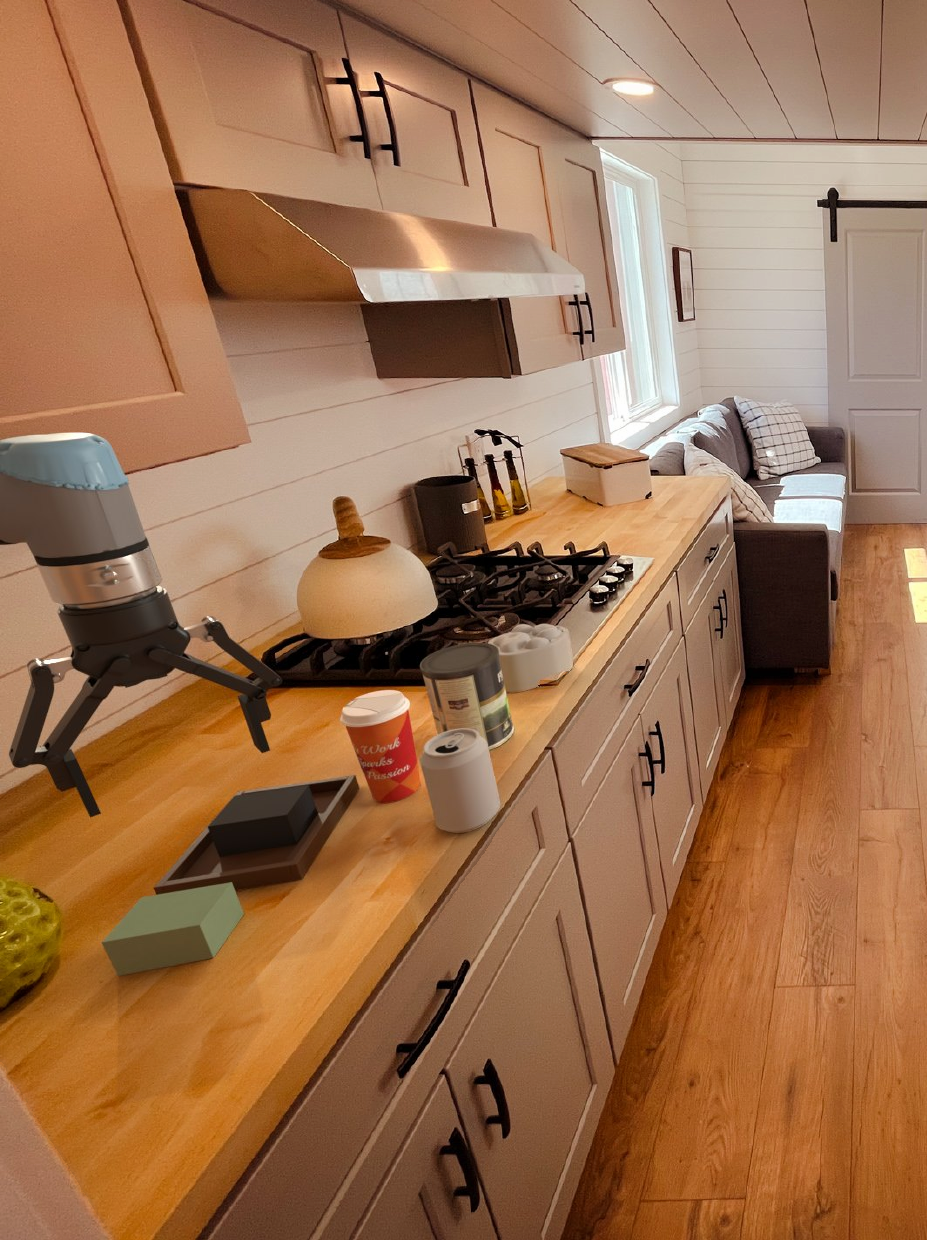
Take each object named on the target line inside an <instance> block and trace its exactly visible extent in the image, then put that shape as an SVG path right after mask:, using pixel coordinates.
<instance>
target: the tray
mask: <svg viewBox="0 0 927 1240" xmlns="http://www.w3.org/2000/svg"><path fill="white" fill-rule="evenodd" d="M306 785H309V787H310V790H311V793H312V796H313V799H314V802H315V806H316V809H317V812H318V814H317V816H316V817H315V819H314V820H313V822H312V823H311V825H310V826H309V827H308V829H307V830H306V832H305V833H304V835H303V836H302V838H301V839H300V841H299V842H298V844H296V845H289V846H283V847H277V848H271V849H264V850H258V851H252V852H245V853H239V854H233V855H227V856H220V857H219V855H218V852H217V850H216V847H215V845H214V842H213V839H212V837H211V834H210V832H209V829H208V826H209V824H208V825H207V826H206V827H205V828H204V829H203V830H202V831H201V833H200V834H199V835H198V836H197V837H196V839H194V840H193V842H192V843H191V844H190V845H189V847H188V848H187V849H186V850H185V851H184V852H183V853H182V855H181V856H180V857H179V858H178V859H177V860H176V861H175V863H173V865H172V866H171V867H170V868H169V870H167V871H166V872H165V874H164V875H163V876H162V877H161V879H159V880H158V882H157V883H156V884H155V885H154V886H153V890H154V892H155V895H159V894H165V893H171V892H177V891H183V890H189V889H194V888H200V887H206V886H212V885H218V884H224V883H230V882H232V884H233V886H234V889H235V892H237V891H242V890H249V889H254V888H259V887H265V886H270V885H277V884H282V883H289V882H293V881H301V880H303V879H304V877H305V875H306V874H307V872H308V870H309V869H310V867H311V866H312V865H313V863H314V861H315V860H316V858H317V857H318V855H319V853H320V852H321V851H322V849H323V847H324V845H325V844H326V842H327V840H328V839H329V838H330V836H331V834H332V833H333V831H334V829H336V826H337V825H338V823H339V822H340V820H341V818H342V817H343V816H344V814H345V812H346V811H347V809H348V807H349V806H350V805H351V802H352V801H353V800H354V798H355V797H356V795H357V794H358V792H359V790H360V786H359V782H358V778H357V775H356V774H352V775H345V776H338V777H332V778H324V779H318V780H316V779H315V780H310V781H302V782H296V783H289V784H282V785H275V786H268V787H267V786H266V787H260V788H259V787H258V788H254V789H245V790H239V791H237V792H236V793H235V794H234V795H233V797H234V796H236V795H243V794H250V793H257V792H264V791H271V790H278V789H285V788H292V787H299V786H306ZM229 802H230V800H229V801H228V802H227V803H226V805H227V804H228V803H229ZM222 810H223V808H222V809H221V810H220V811H219V813H220V812H221V811H222ZM215 818H216V816H215V817H214V818H213V819H212V820H211V822H212V821H213V820H214V819H215Z"/></svg>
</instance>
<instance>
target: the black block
mask: <svg viewBox="0 0 927 1240" xmlns="http://www.w3.org/2000/svg"><path fill="white" fill-rule="evenodd" d="M229 801H230V802H229ZM229 801H228V802H229V803H228V802H227V803H228V804H227V803H226V804H225V805H224V807H223V808H222V809H223V810H222V809H221V810H222V811H221V810H220V811H221V812H220V811H219V812H218V813H217V815H216V816H215V817H216V818H215V817H214V818H215V819H214V818H213V819H214V820H213V819H212V820H213V821H212V820H211V821H210V823H209V824H208V825H209V826H208V825H207V826H208V829H209V832H210V834H211V837H212V839H213V842H214V845H215V847H216V850H217V852H218V855H219V857H220V856H227V855H233V854H239V853H245V852H252V851H258V850H264V849H271V848H277V847H283V846H289V845H296V844H298V842H299V841H300V839H301V838H302V836H303V835H304V833H305V832H306V830H307V829H308V827H309V826H310V825H311V823H312V822H313V820H314V819H315V817H316V816H317V814H318V812H317V809H316V806H315V802H314V799H313V796H312V793H311V790H310V787H309V785H306V786H299V787H292V788H285V789H278V790H271V791H264V792H257V793H250V794H243V795H236V796H234V795H233V796H232V798H230V800H229Z"/></svg>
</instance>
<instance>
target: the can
mask: <svg viewBox="0 0 927 1240" xmlns="http://www.w3.org/2000/svg"><path fill="white" fill-rule="evenodd" d="M422 747H423V748H422V750H423V752H422V754H421V756H420V758H419V763H420V767H421V771H422V774H423V778H424V782H425V783H424V784H425V786H426V790H427V794H428V798H429V802H430V805H431V810H432V814H433V817H434V821H435V825H436V827H437V828H438V829H440V830H441V831H444V832H449V833H453V834H462V833H466V832H467V833H468V832H471V831H474V830H477V829H479V828H481V827H482V826H483V827H484V826H485V825H486V824H487V823H488V822H490V821H491V820H492V818H493V817H494V816H496V814H497V813H498V811H499V810H500V807H501V800H500V795H499V790H498V785H497V782H496V776H495V772H494V767H493V763H492V758H491V754H490V750H489V748H488V744H487V741H486V740H485V739H484V738H482V737H481V736H480V735H479V732H477V731H476V730H474V729H469V728H460V729H453V730H449V731H446V732H443V733H441V734H438V733H437V734H436V735H434V736H433V737H431V738H430V739H428V741H426V742H425V744H424V745H423V746H422Z"/></svg>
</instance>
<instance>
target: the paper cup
mask: <svg viewBox="0 0 927 1240" xmlns="http://www.w3.org/2000/svg"><path fill="white" fill-rule="evenodd" d="M410 708H411V702H410V699H408V698H407V697H406V696H404V694H403V693H402V692H401V691H399V690H395V689H384V690H376V691H372V692H368V693H364V694H361V695H359V696H357V697H355V698H354V699H353V700H350V702H348V703H347V704H346V705H345V706H343V708H342V710H341V715H340V719H339V721H340V723H341V724H342V725H343V726H344V727H345V729H346V731H347V734H348V737H349V739H350V742H351V744H352V748H353V750H354V753H355V755H356V757H357V761H358V763H359V765H360V768H361V771H362V774H363V776H364V778H365V780H366V783H367V786H368V789H369V791H370V794H371V795H372V797H373V799H374V801H376V802H378V803H380V804H381V803H383V804H387V803H395V802H399V801H401V800H404V799H406V798H408V797H410V796H411V795H413V794H415V793H416V792H417V791H418V790H419V789H420V787H421V775H420V769H419V762H418V756H417V752H416V745H415V740H414V734H413V733H414V732H413V728H412V723H411V717H410V712H409V710H410Z"/></svg>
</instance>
